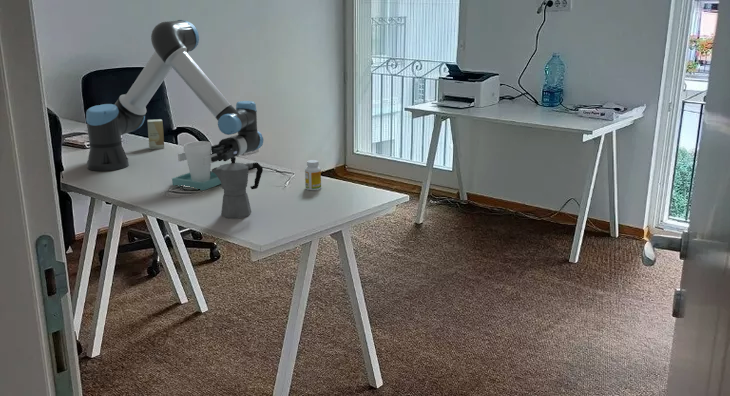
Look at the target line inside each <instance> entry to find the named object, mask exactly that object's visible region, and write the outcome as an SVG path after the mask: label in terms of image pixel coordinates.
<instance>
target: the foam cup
mask: <svg viewBox="0 0 730 396" xmlns="http://www.w3.org/2000/svg"><path fill="white" fill-rule="evenodd" d="M211 146H212V142H210V141H207V140H203V141H201V140H200V141H191V142H186V143H184V144H183V152H185V155H186V159H187V160H186V161H187V166H188V170H189V173H190V175H191V179H192V181H197V182H204V181H208V180H210V171H211V165H212V163H211V164H208V165H203V157H206V156H209V155H211V154H212V150H211V149H212V148H211Z"/></svg>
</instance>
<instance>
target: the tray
mask: <svg viewBox="0 0 730 396" xmlns="http://www.w3.org/2000/svg"><path fill="white" fill-rule="evenodd" d="M171 182H172V183H171V185H172V186H175V185H179V186H178V187H180V186H181V185H185V186H190V187H194V188H197V189H196V190H198V189H200V190H199V191H206V190H208V189H211V188H213V187H216V186H217V187H218V186H220V185H221V181H220V180H219V178H218V177H217V175H216V174H215V173H214V172H212V170H210V180H208V181H204V182H197V181H192V179H191V175H190V172H186V173H184V174H181V175H178V176H175V177H172V178H171Z"/></svg>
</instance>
